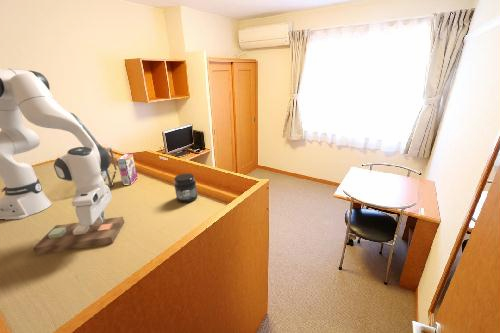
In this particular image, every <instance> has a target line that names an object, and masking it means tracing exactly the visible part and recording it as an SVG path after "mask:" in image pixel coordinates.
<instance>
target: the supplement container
mask: <svg viewBox="0 0 500 333" xmlns="http://www.w3.org/2000/svg"><path fill="white" fill-rule="evenodd" d="M173 181H174V185H173V186H174V190H175V195H176V196H175V197H176V200H177V201H178V202H179V203H185V204H187V203H190V202H193V201H195V200H196V199H197V198H198V190H197V180H195V175H194V174H193V173H182V174H178V175H176V176H175V177H174V180H173Z"/></svg>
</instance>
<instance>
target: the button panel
mask: <svg viewBox="0 0 500 333" xmlns="http://www.w3.org/2000/svg"><path fill="white" fill-rule="evenodd" d="M111 223H112V224H113V225H112V227H111V228H110V230H107V231H100V232H98V229H99V228H100V226H101V225H104V224H111ZM124 224H125V219H124V216H119V217H117V216H115V217H109V218H105V220H104V221H103V223H102V224H98V223H97V220H96V221H95V222H94V224H93V225H89V226H90V228H89V230H88V231H87V232H86V234H79V235H74V234H73V230H74V229H75V228H76V227H77V226H78V225H81V224H80V222H79V221H78V222H71V223H65V224H57V225H55V226H54V227H52V229H50V230H49V232H47V233H46V235H44V236H43V237H42V238H41V240H39V241H38V242H37V243H36V244H35V245H34V246H33V247H32V250H33V252H34V254H35V256H38V255H44V254H45V255H46V254H50V253H57V252H64V251H69V250H71V251H72V250H78V249H85V248H92V247H97V246H102V245H111V244H114V243H115V240H116V238H117V237H118V236H119V233H120V232H121V229H122V228H123V226H124ZM63 227H65V228H66V230H67V231H66V232H65V233H64V234H63V236H62V237H58V238H51V239H49V237H48V234H49V233H50V232H51V231H52V230H53V229H56V228H63Z"/></svg>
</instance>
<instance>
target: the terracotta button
mask: <svg viewBox="0 0 500 333" xmlns="http://www.w3.org/2000/svg"><path fill="white" fill-rule="evenodd" d="M112 225H113V224H112V223H111V224H104V225H101V226H100V228H99V229H98V232H100V231H107V230H110V228H111V227H112Z"/></svg>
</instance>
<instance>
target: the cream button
mask: <svg viewBox="0 0 500 333" xmlns="http://www.w3.org/2000/svg"><path fill="white" fill-rule="evenodd" d="M89 228H90V226H89V225H88V226H82V225H78V226H77V227H76V228H75V229H74V230H73V234H74V235H79V234H86V232H87V231H88V230H89Z"/></svg>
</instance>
